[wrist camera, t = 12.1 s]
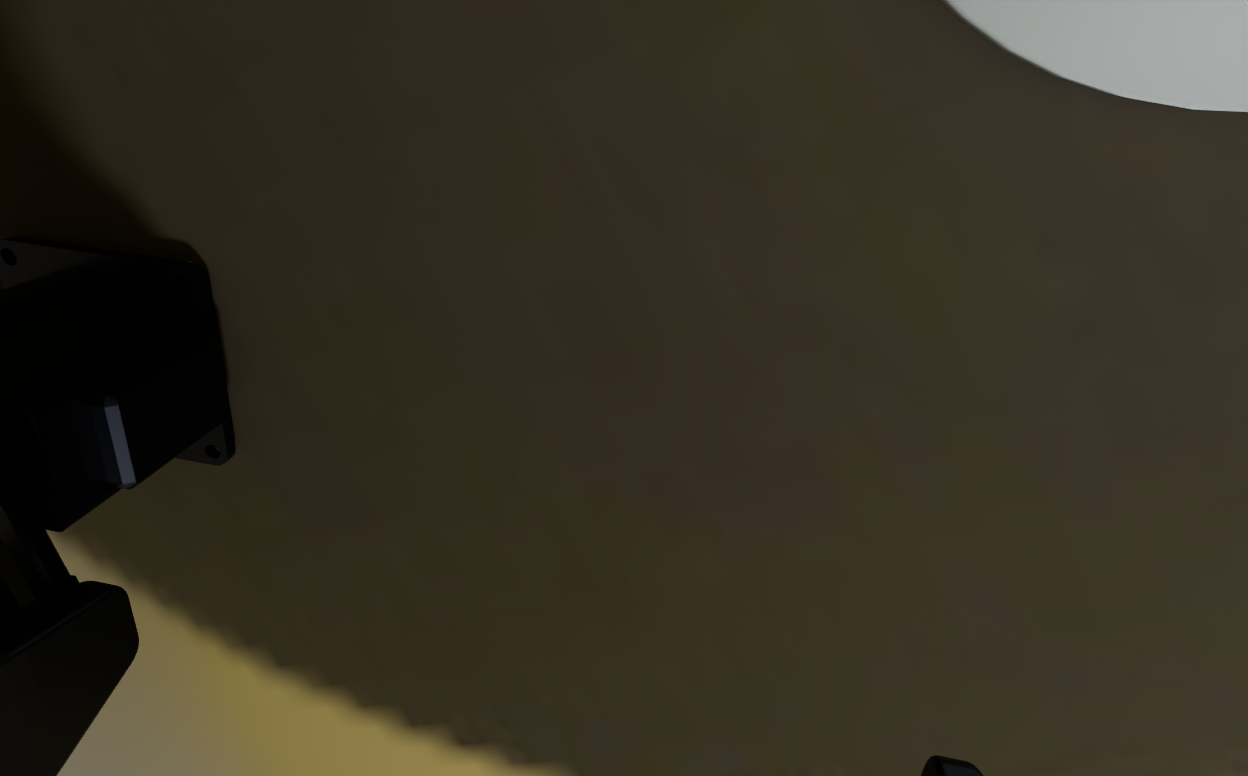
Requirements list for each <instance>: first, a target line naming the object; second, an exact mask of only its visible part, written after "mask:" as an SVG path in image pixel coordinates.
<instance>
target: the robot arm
mask: <svg viewBox="0 0 1248 776" xmlns="http://www.w3.org/2000/svg"><path fill="white" fill-rule="evenodd" d="M14 254H15V255H14ZM15 256H16V257H15ZM185 276H186V277H187V278H188V279H189V280H190V281H191V284H192V287H191V286H189V285H188V284H187V283H186V280H185ZM0 280H1V283H2V287H3V290H0V776H57V774H58V773H59V771H60V770H61V768H62V767H63V766H64V764H65V763H66V761H67V760H68V758H69V757H70V755H71V754H72V752H73V751H74V749H75V748H76V746H77V745H78V743H79V742H80V740H81V739H82V737H83V735H84V734H85V732H86V731H87V730H88V728H89V727H90V725H91V724H92V722H93V721H94V719H95V718H96V716H97V715H98V713H99V711H100V710H101V708H102V707H103V705H104V704H105V702H106V701H107V699H108V698H109V696H110V695H111V693H112V692H113V690H114V689H115V687H116V686H117V684H118V683H119V681H120V680H121V678H122V677H123V675H124V674H125V672H126V671H127V669H128V668H129V666H130V665H131V663H132V661H133V660H134V657H135V655H136V653H137V650H138V645H139V637H138V632H137V628H136V624H135V621H134V617H133V613H132V609H131V605H130V601H129V597H128V595H127V593H126V591H125V590H124V589H123V588H122V587H119V586H116V585H111V584H106V583H102V582H97V581H85V582H81V583H79V581H78V579H77V578H76V576H73V575H70V574H69V572H68V570H67V568H66V566H65V565H64V563H63V561H62V559H61V557H60V556H59V554H58V552H57V550H56V548H55V546H54V545H53V543H52V541H51V539H50V537H49V536H48V534H47V532H46V530H51V531H56V532H63V531H64V530H65V529H67V528H68V527H70V526H71V525H72V524H74V523H75V522H76V521H78V520H79V519H81V518H82V517H83V516H85V515H86V514H88V513H89V512H90V511H92V510H93V509H95V508H96V507H97V506H99V505H100V504H101V503H103V502H104V501H106V500H107V499H108V498H110V497H111V496H113V495H114V494H115V493H117V492H118V491H119V490H121V489H122V488H123V489H128V490H130V489H132V488H134V487H136V486H137V485H138V484H140V483H141V482H143V481H144V480H145V479H147V478H148V477H149V476H151V475H152V474H153V473H155V472H156V471H158V470H159V469H160V468H162V467H163V466H164V465H166V464H167V463H169V462H170V461H171V460H173V459H174V458H178V459H184V460H189V461H195V462H200V463H206V464H211V465H222V464H224V463H226V462H227V461H228V460H229V459H231V458H232V457H233V456H234V454H235V442H234V435H233V429H232V423H231V417H230V410H229V403H228V397H227V391H226V384H225V378H224V372H223V365H222V359H221V353H220V346H219V341H218V334H217V328H216V322H215V315H214V309H213V303H212V296H211V290H210V284H209V280H208V277H207V275H206V273H205V272H204V271H203V269H202V268H200V267H199V266H198V265H196V264H193V263H190V262H183V261H177V260H170V259H163V258H157V257H150V256H143V255H137V254H130V253H124V252H117V251H110V250H104V249H97V248H90V247H84V246H77V245H70V244H64V243H57V242H50V241H44V240H37V239H30V238H24V237H17V236H15V237H8V238H5V239H1V240H0ZM214 446H216V447H217V448H218V449H219V451H218V450H217V449H216V448H215V447H214ZM45 529H46V530H45ZM921 776H983V775H982V773H981V772H980V771H979V770H978V768H976V767H975V766H974V765H973V764H971V763H969V762H967V761H962V760H958V759H953V758H948V757H943V756H938V755H936V756H932V757H930V758H929V759H928V761H927V762H926V764H925V766H924V769H923V772H922V774H921Z"/></svg>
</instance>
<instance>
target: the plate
mask: <svg viewBox="0 0 1248 776" xmlns="http://www.w3.org/2000/svg"><path fill="white" fill-rule="evenodd" d="M938 1H939V2H940V3H941V4H942V5H943V6H944V7H945V8H946V9H947V10H948V11H949V12H950V13H951V14H952V15H953V16H954V17H955V18H957V19H958V20H960V21H961V22H962V23H964V24H965V25H966V26H968V27H969V28H971V29H972V30H973V31H975V32H976V33H977V34H979V35H980V36H982V37H983V38H984V39H986V40H987V41H989V42H990V43H991V44H993V45H994V46H995V47H997V48H998V49H1000V50H1002V51H1004V52H1006V53H1007V54H1009V55H1011V56H1013V57H1015V58H1017V59H1019V60H1021V61H1023V62H1025V63H1027V64H1029V65H1031V66H1033V67H1035V68H1037V69H1039V70H1041V71H1043V72H1045V73H1047V74H1049V75H1052V76H1055V77H1058V78H1061V79H1064V80H1067V81H1070V82H1073V83H1076V84H1079V85H1082V86H1085V87H1088V88H1091V89H1094V90H1097V91H1100V92H1104V93H1109V94H1113V95H1118V96H1122V97H1127V98H1131V99H1137V100H1143V101H1148V102H1154V103H1160V104H1165V105H1171V106H1177V107H1182V108H1188V109H1194V110H1215V111H1239V112H1248V0H938Z"/></svg>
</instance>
